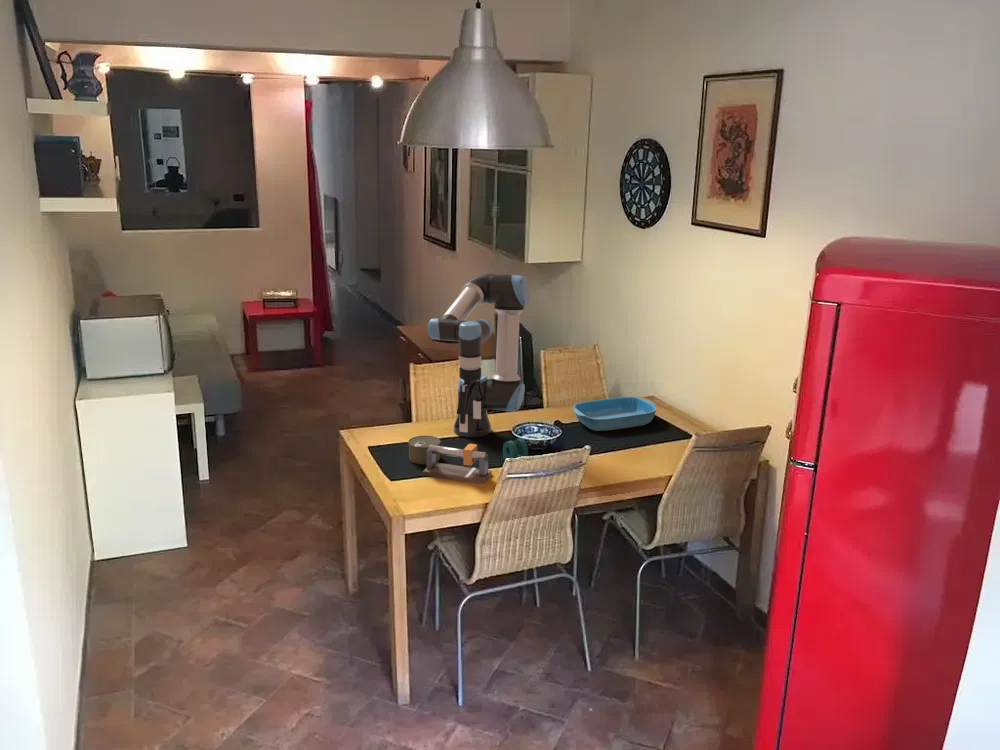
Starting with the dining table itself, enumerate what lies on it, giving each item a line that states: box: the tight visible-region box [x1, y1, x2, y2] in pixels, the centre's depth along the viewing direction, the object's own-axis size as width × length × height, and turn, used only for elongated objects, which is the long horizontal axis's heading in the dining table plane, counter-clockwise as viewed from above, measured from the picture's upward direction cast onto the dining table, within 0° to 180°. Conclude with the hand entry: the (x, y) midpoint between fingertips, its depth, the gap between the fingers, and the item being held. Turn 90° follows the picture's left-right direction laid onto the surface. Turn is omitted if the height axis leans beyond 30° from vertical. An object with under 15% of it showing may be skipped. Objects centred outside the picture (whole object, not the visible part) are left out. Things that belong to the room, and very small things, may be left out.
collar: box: [462, 443, 478, 467], centre depth 293 cm, size 6×3×6 cm, turn 162°
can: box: [407, 435, 442, 465], centre depth 311 cm, size 12×12×7 cm
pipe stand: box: [422, 445, 493, 485], centre depth 296 cm, size 9×23×10 cm, turn 72°
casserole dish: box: [573, 396, 657, 432], centre depth 351 cm, size 37×22×7 cm, turn 111°
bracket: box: [502, 437, 529, 460], centre depth 306 cm, size 18×7×8 cm, turn 33°
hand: (470, 425), depth 290 cm, fingers open, 13 cm apart
